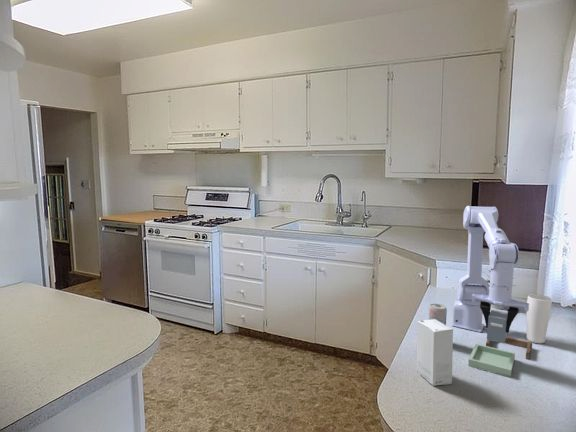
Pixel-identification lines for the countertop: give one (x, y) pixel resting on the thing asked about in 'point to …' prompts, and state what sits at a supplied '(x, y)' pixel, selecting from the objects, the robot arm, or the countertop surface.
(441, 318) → the energy drink
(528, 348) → the frame
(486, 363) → the tray
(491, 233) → the robot arm
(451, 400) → the countertop surface
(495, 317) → the grey box with handle
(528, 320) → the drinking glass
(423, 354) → the skincare box
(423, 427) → the countertop surface
